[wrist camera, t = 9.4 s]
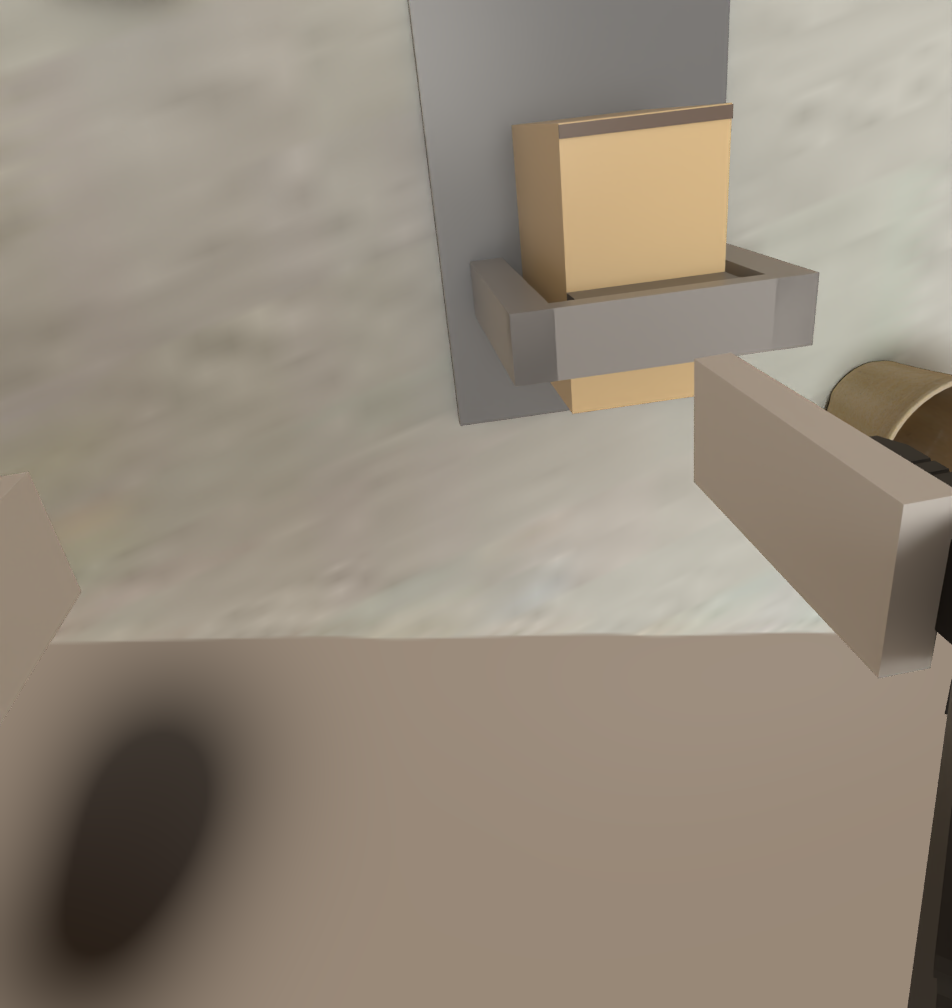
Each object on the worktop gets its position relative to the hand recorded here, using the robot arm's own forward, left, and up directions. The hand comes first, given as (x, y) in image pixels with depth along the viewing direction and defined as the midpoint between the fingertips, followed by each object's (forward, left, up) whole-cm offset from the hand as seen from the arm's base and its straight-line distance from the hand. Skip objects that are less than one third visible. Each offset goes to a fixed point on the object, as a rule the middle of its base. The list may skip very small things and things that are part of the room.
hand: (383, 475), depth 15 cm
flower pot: (+31, -13, -30) cm, 45 cm away
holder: (+12, +6, -30) cm, 33 cm away
